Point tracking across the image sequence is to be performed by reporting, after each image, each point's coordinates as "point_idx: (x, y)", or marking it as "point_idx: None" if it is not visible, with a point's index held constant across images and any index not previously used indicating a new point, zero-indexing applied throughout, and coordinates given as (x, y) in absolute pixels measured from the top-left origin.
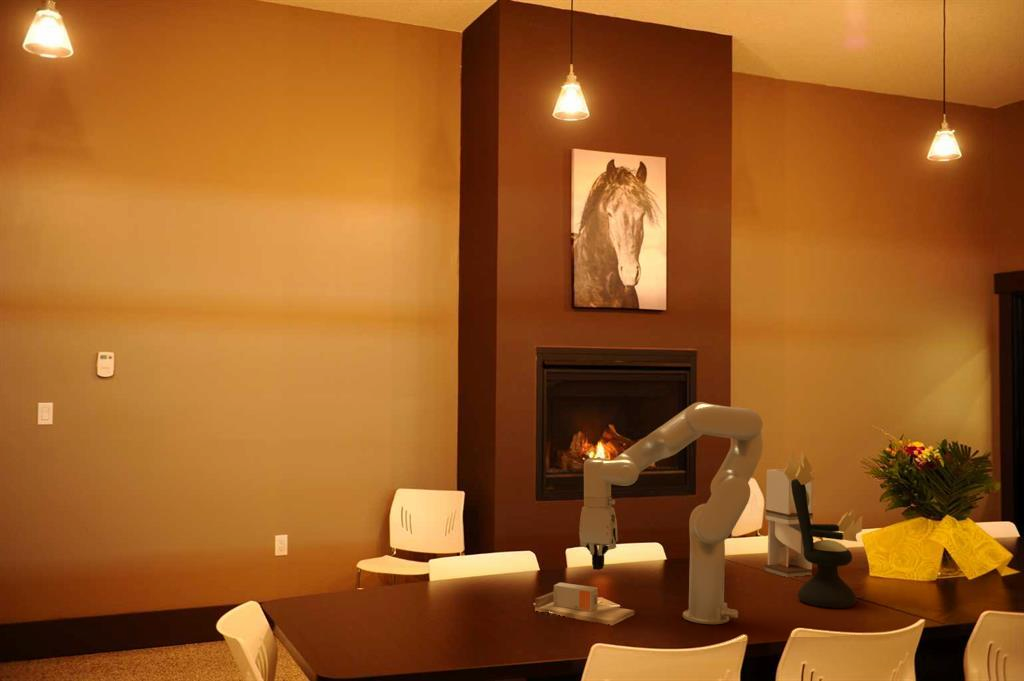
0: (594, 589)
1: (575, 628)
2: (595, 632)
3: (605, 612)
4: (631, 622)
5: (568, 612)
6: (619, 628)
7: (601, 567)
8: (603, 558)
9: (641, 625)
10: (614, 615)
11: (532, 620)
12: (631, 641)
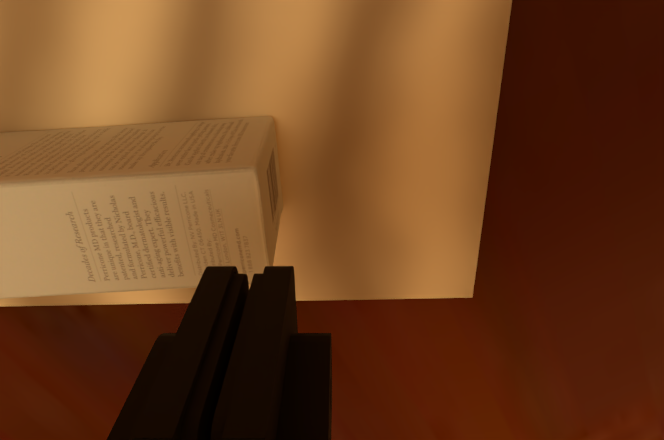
0: (262, 235)
1: (335, 413)
2: (439, 413)
3: (359, 162)
4: (542, 167)
5: (183, 294)
6: (517, 307)
7: (294, 318)
8: (329, 437)
9: (613, 190)
10: (439, 192)
11: (104, 418)
12: (623, 433)
